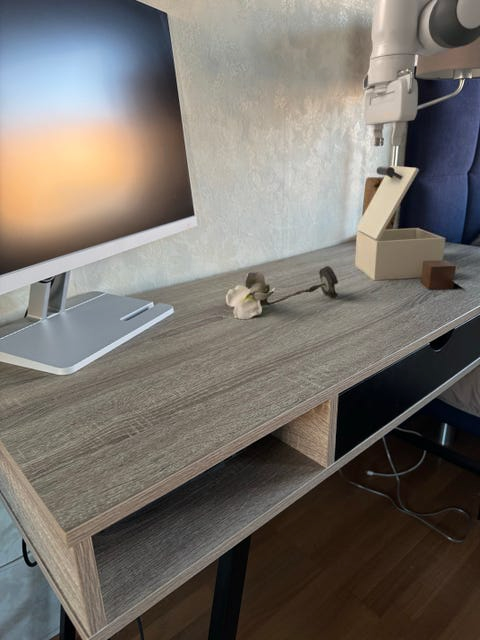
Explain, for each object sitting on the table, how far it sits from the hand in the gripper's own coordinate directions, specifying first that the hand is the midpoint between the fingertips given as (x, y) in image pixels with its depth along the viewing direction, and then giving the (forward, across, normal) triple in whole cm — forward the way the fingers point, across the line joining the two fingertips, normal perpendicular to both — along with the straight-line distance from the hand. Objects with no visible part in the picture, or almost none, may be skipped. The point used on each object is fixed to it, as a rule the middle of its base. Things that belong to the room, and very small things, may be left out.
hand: (386, 146), depth 97 cm
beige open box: (+28, 0, -4) cm, 29 cm away
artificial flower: (+28, -20, +26) cm, 44 cm away
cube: (+28, -14, -8) cm, 32 cm away
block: (+29, +27, -10) cm, 40 cm away
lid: (+12, 0, -1) cm, 12 cm away
